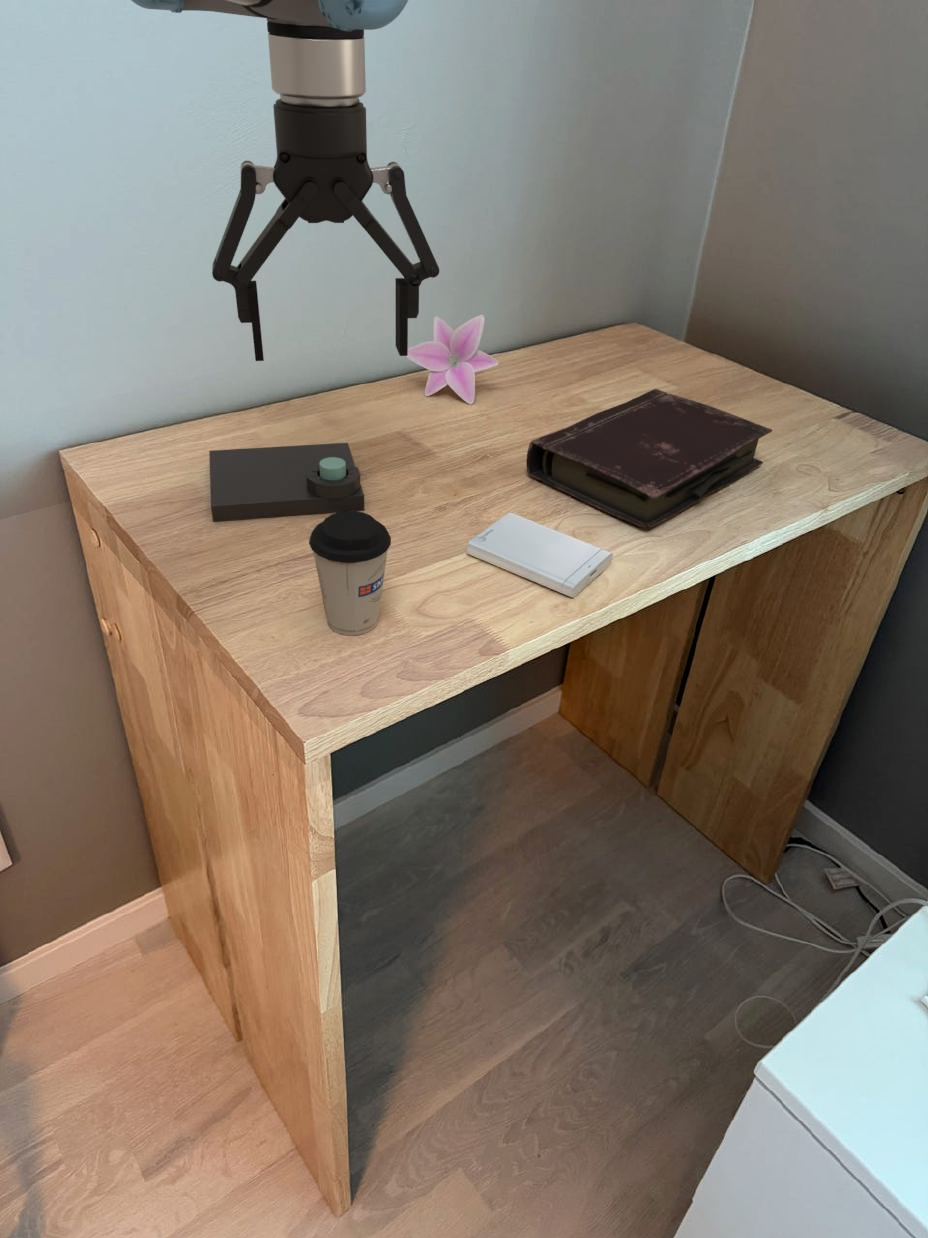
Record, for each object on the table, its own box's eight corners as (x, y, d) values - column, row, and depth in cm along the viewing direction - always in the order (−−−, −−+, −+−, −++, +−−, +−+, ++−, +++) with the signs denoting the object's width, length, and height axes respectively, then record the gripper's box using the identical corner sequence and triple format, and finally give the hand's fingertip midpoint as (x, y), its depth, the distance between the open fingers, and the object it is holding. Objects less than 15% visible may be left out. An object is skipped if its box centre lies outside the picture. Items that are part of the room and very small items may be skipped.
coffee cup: (299, 629, 78) (291, 533, 72) (339, 590, 83) (335, 497, 77) (367, 652, 76) (365, 555, 70) (404, 610, 81) (405, 517, 75)
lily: (394, 388, 126) (392, 342, 117) (447, 339, 130) (449, 291, 121) (458, 434, 123) (461, 391, 114) (510, 383, 127) (517, 338, 118)
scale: (213, 523, 92) (208, 493, 90) (211, 465, 102) (207, 437, 100) (365, 511, 95) (364, 483, 93) (348, 456, 106) (347, 429, 104)
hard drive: (466, 541, 89) (574, 585, 83) (510, 510, 94) (614, 549, 89) (465, 555, 90) (571, 600, 84) (509, 523, 95) (611, 563, 90)
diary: (522, 474, 104) (526, 435, 101) (644, 419, 119) (651, 383, 116) (652, 537, 94) (661, 496, 91) (768, 468, 109) (778, 430, 106)
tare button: (321, 482, 94) (320, 469, 93) (318, 470, 96) (317, 457, 95) (347, 480, 94) (347, 467, 93) (344, 468, 97) (343, 456, 96)
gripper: (459, 95, 77) (450, 335, 90) (162, 88, 72) (197, 343, 85) (478, 108, 71) (466, 362, 84) (157, 101, 66) (196, 373, 79)
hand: (331, 353), depth 84 cm, fingers open, 13 cm apart
